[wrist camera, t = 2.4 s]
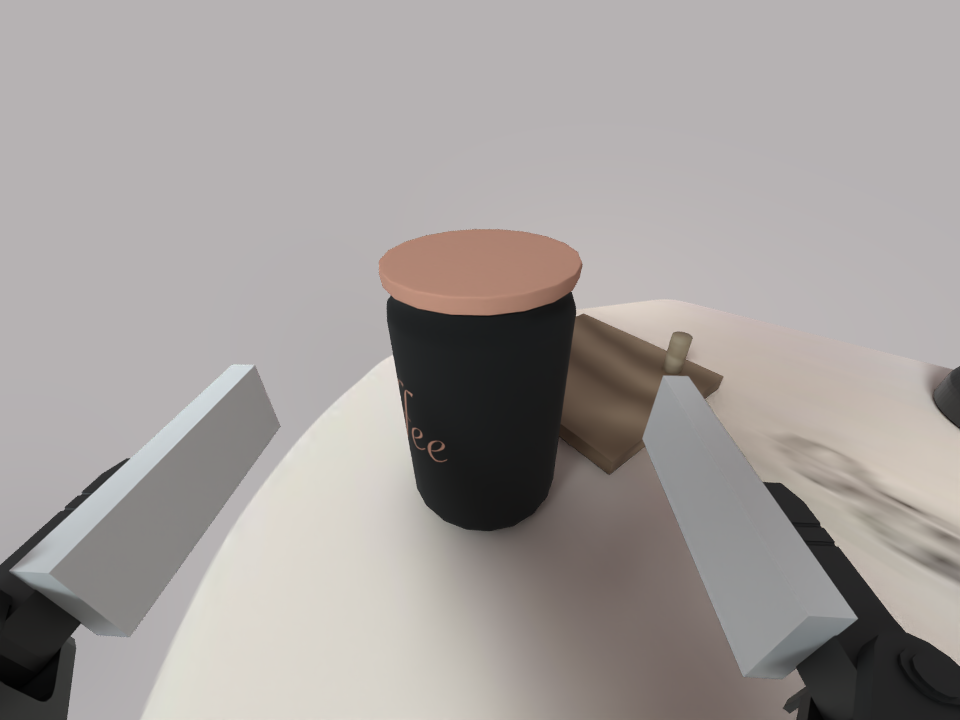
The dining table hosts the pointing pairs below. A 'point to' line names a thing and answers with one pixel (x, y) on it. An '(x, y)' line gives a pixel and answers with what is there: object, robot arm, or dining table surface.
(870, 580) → the dining table surface
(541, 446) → the coffee jar
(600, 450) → the pegged base plate
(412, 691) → the dining table surface
